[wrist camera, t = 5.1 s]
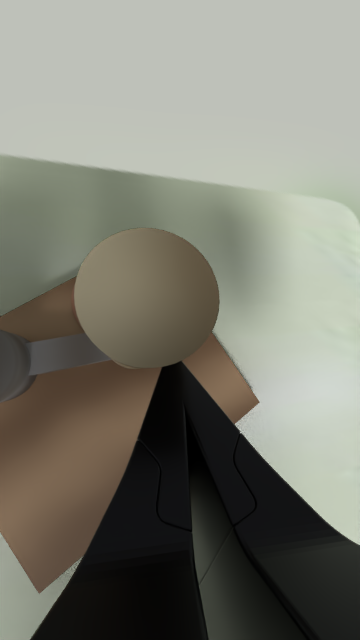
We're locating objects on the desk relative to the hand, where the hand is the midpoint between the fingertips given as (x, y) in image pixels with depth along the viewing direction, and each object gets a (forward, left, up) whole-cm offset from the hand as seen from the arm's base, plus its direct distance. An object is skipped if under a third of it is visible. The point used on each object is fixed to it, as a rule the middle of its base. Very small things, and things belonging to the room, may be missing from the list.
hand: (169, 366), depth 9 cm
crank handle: (+3, +3, -7) cm, 8 cm away
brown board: (+1, +3, -8) cm, 8 cm away
